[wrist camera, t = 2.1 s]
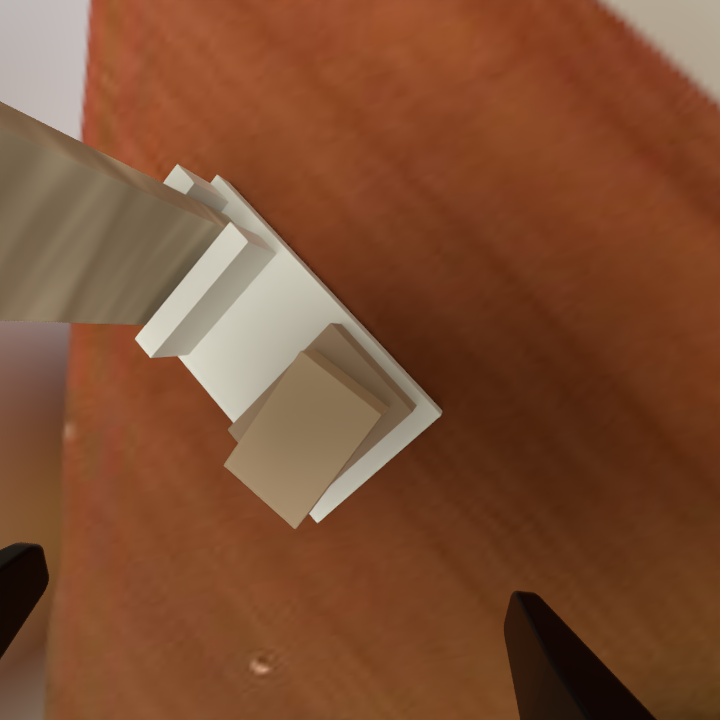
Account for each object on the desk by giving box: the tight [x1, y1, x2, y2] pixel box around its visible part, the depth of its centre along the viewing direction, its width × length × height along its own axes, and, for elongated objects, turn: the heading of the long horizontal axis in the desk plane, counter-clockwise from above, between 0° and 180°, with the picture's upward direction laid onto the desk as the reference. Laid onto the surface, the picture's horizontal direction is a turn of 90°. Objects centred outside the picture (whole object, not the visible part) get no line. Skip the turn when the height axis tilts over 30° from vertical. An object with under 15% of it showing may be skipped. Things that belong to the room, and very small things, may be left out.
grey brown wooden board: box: [0, 102, 235, 325], centre depth 13 cm, size 2×6×13 cm, turn 134°
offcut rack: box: [135, 164, 442, 529], centre depth 18 cm, size 16×8×4 cm, turn 44°
